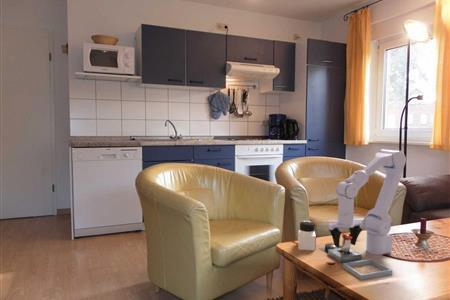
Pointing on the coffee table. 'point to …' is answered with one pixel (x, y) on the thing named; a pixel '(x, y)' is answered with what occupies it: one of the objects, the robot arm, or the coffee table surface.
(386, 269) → the tray
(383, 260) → the coffee table surface
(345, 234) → the pin
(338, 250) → the block
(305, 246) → the medicine bottle
